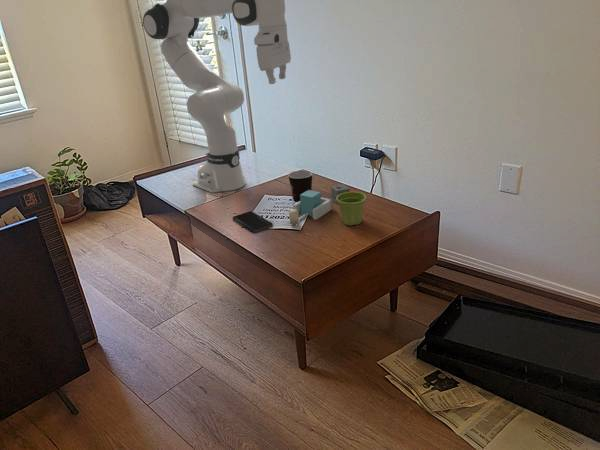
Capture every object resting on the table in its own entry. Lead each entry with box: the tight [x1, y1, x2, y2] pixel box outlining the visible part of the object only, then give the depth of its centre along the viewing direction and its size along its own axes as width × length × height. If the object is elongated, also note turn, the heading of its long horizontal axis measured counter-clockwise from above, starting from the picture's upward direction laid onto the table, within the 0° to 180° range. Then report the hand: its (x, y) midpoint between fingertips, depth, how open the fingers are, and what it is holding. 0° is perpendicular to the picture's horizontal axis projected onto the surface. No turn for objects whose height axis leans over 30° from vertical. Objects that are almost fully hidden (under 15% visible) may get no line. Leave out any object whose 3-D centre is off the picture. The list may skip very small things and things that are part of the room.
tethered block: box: [288, 190, 322, 226], centre depth 162 cm, size 5×14×7 cm, turn 144°
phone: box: [232, 210, 274, 234], centre depth 163 cm, size 8×1×15 cm
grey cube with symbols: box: [330, 183, 351, 205], centre depth 174 cm, size 5×5×5 cm
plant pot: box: [336, 191, 367, 226], centre depth 156 cm, size 9×9×9 cm
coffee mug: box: [288, 169, 313, 203], centre depth 177 cm, size 12×9×10 cm
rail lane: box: [292, 197, 333, 220], centre depth 167 cm, size 9×10×4 cm
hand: (277, 81), depth 159 cm, fingers open, 8 cm apart
